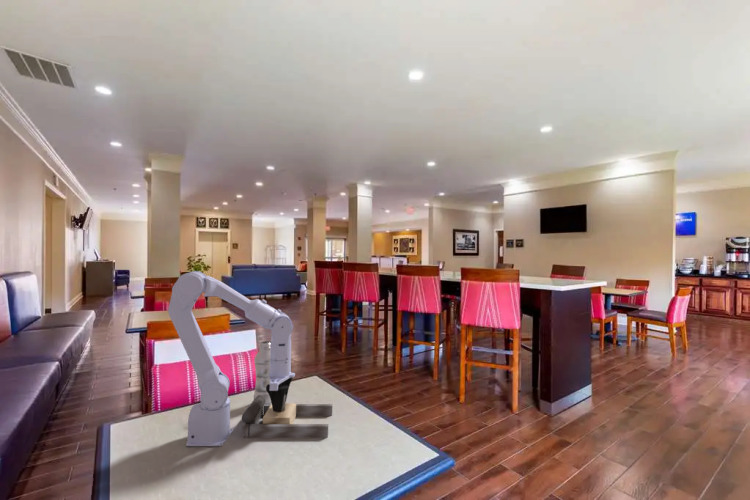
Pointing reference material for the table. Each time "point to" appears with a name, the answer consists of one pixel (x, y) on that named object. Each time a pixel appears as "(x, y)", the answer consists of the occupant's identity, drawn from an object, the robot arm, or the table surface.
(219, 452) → the table surface
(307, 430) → the bay
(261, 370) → the plastic bottle
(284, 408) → the tan wooden block
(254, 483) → the table surface
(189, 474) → the table surface
